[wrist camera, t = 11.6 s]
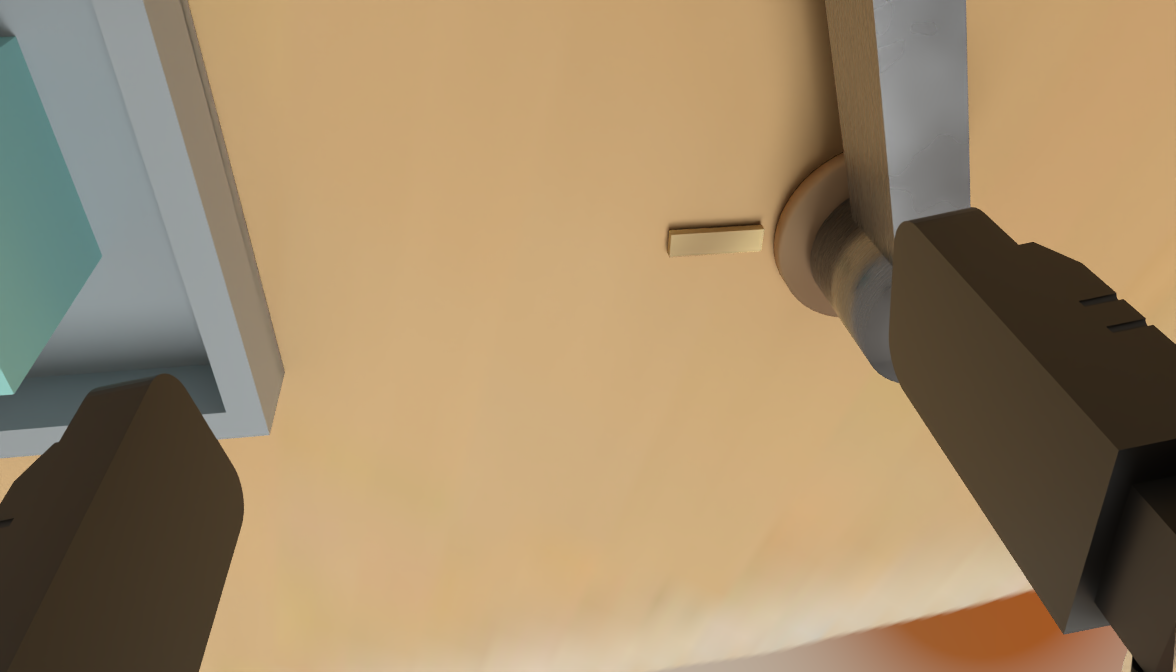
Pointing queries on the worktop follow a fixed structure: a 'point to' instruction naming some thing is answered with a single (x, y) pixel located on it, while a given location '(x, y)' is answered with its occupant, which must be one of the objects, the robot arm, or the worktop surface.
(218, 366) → the tray
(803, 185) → the crank base
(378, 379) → the worktop surface
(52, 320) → the block
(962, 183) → the crank
